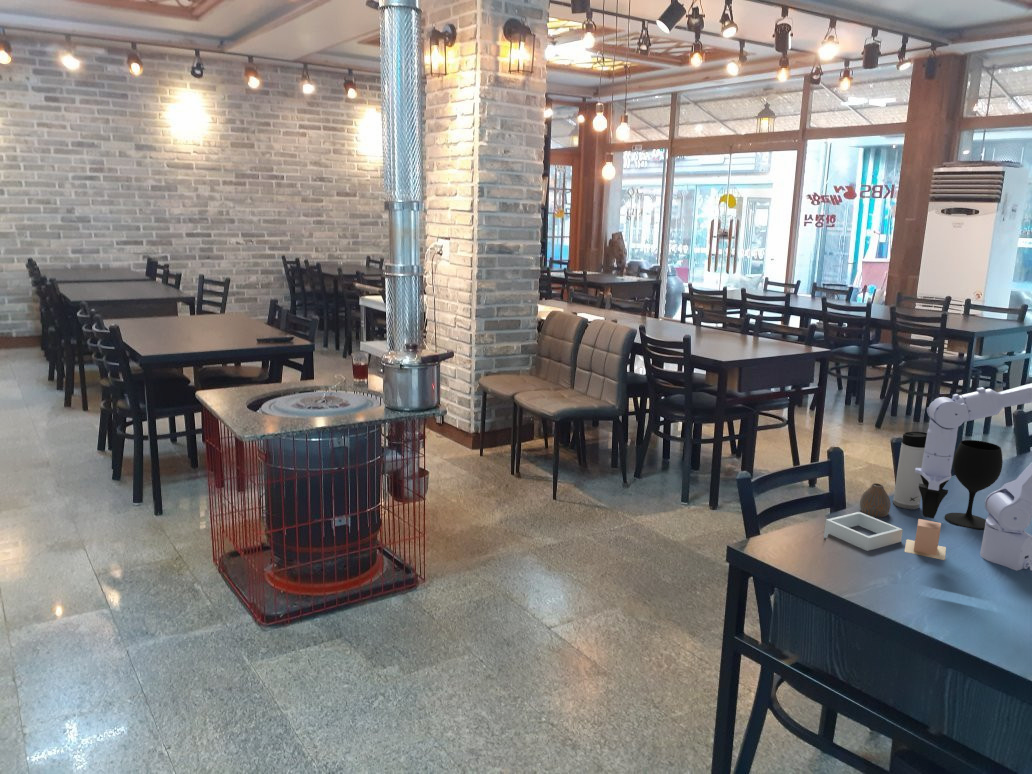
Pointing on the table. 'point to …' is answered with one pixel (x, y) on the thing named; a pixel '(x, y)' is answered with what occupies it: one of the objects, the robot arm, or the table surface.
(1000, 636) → the table surface
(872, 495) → the vase
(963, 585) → the table surface
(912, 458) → the travel mug
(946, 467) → the robot arm
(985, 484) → the wine glass
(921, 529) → the block
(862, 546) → the bin
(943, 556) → the base
